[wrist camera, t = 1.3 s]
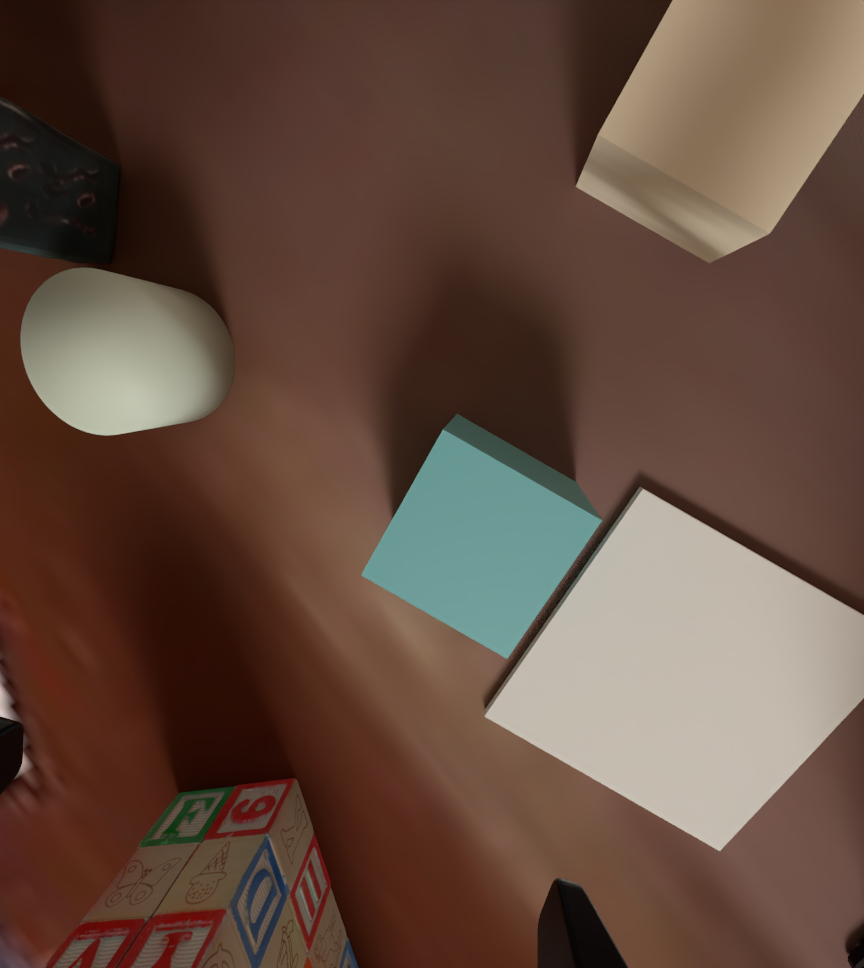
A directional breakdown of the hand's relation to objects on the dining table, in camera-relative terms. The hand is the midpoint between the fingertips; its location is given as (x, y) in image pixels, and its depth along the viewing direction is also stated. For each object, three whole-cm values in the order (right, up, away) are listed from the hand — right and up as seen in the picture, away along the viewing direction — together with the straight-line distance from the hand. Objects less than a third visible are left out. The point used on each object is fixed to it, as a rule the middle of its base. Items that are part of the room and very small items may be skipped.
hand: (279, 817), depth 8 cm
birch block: (+10, +16, +8) cm, 21 cm away
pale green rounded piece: (-7, +10, +11) cm, 17 cm away
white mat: (+12, -2, +12) cm, 17 cm away
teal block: (+4, +5, +11) cm, 13 cm away
